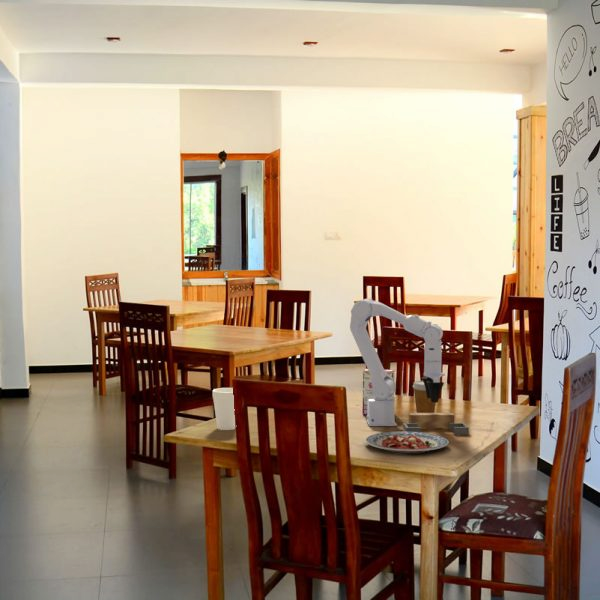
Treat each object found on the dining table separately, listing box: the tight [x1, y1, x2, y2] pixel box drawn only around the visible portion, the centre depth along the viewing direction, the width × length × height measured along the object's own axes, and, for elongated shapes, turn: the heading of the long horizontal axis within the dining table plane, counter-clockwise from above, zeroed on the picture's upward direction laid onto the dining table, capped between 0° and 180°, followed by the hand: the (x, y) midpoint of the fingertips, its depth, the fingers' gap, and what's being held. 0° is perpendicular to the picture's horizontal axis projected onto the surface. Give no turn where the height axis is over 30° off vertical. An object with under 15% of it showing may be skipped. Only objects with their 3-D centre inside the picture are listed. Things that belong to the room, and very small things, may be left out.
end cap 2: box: [449, 422, 470, 436], centre depth 307 cm, size 5×7×2 cm, turn 2°
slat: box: [408, 412, 455, 430], centre depth 314 cm, size 15×4×5 cm, turn 92°
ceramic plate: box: [365, 430, 449, 454], centre depth 287 cm, size 26×26×3 cm
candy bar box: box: [361, 368, 395, 416], centre depth 336 cm, size 11×5×16 cm, turn 80°
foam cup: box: [212, 387, 236, 431], centre depth 313 cm, size 10×9×13 cm
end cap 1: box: [402, 422, 422, 432], centre depth 306 cm, size 5×7×2 cm, turn 2°
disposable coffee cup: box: [412, 380, 437, 413], centre depth 335 cm, size 10×10×12 cm
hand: (432, 400), depth 314 cm, fingers open, 7 cm apart
